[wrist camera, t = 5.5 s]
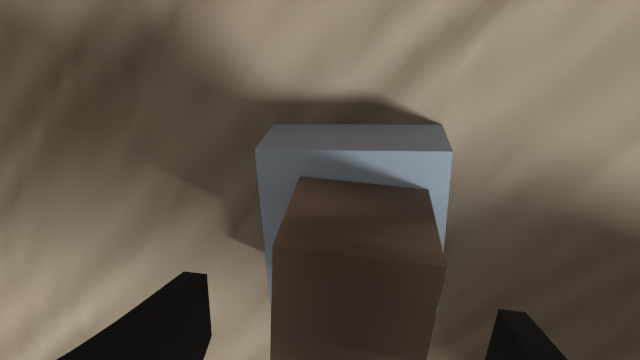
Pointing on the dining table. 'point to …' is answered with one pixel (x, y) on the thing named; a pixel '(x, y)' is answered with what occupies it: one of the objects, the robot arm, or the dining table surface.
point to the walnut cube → (355, 273)
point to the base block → (350, 165)
